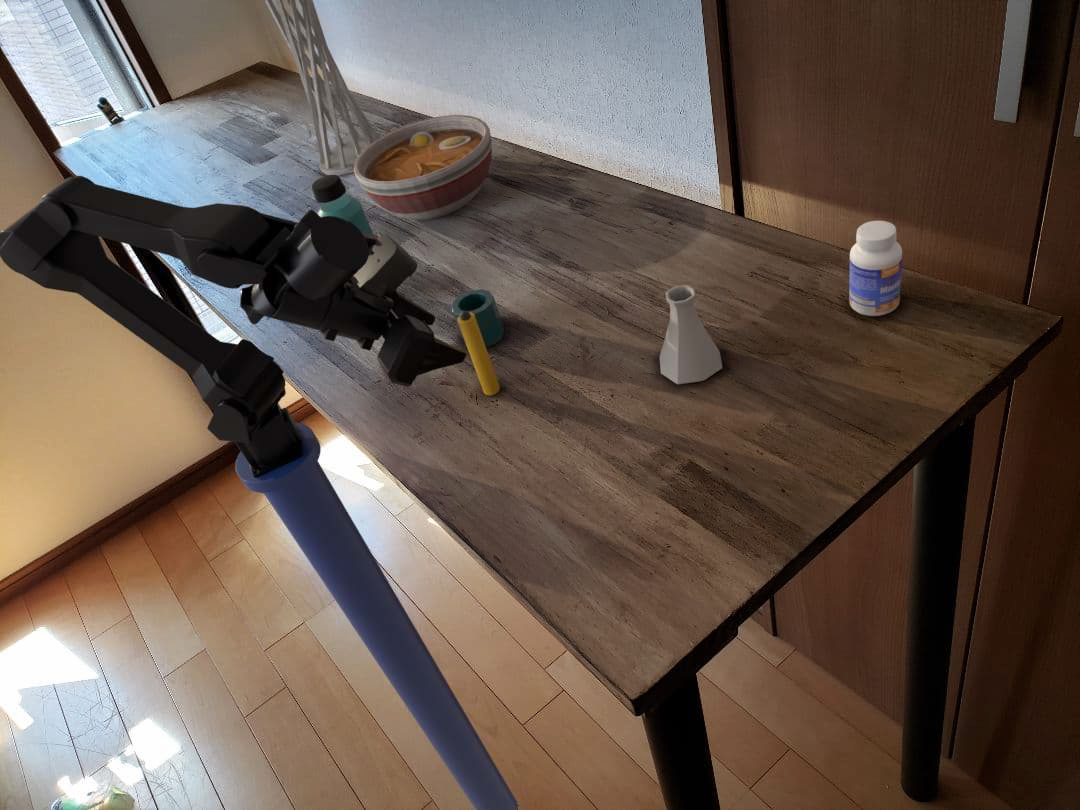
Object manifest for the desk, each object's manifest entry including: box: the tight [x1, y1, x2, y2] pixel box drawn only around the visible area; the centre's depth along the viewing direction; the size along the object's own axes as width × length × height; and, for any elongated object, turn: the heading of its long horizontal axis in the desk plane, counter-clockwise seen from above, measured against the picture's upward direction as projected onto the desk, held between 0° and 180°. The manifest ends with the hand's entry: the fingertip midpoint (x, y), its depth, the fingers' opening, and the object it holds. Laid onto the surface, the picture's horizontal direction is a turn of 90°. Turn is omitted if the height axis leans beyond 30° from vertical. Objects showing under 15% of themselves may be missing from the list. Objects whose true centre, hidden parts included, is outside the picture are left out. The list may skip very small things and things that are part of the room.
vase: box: [263, 0, 380, 177], centre depth 153 cm, size 14×13×35 cm
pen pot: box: [450, 289, 505, 349], centre depth 108 cm, size 5×5×6 cm
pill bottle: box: [848, 220, 903, 317], centre depth 93 cm, size 5×5×10 cm
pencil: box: [458, 311, 501, 396], centre depth 97 cm, size 2×2×12 cm
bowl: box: [353, 114, 493, 221], centre depth 138 cm, size 23×23×10 cm
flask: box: [659, 284, 723, 385], centre depth 93 cm, size 7×7×10 cm
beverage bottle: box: [311, 174, 374, 234], centre depth 115 cm, size 6×7×20 cm
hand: (448, 338), depth 94 cm, fingers open, 9 cm apart
